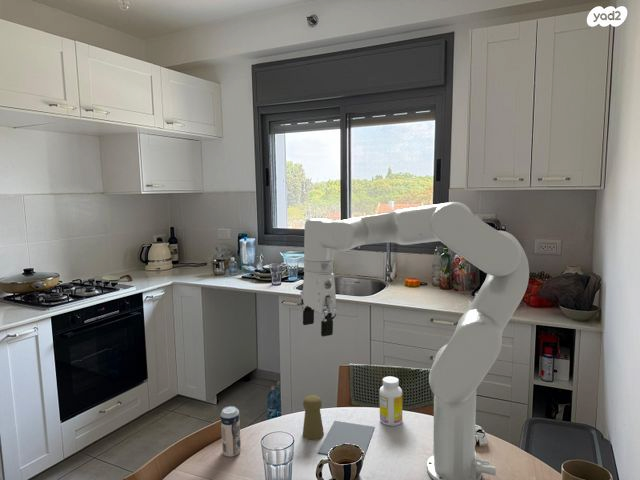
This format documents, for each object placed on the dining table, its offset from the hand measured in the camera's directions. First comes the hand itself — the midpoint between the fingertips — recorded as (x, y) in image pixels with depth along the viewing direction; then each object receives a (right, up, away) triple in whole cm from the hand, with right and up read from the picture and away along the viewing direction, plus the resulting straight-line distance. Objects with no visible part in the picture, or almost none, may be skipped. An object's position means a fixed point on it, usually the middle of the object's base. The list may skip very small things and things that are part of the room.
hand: (317, 329), depth 114 cm
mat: (+8, -31, +5) cm, 33 cm away
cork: (-1, -31, +8) cm, 32 cm away
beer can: (-23, -33, 0) cm, 40 cm away
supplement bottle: (+22, -30, +14) cm, 40 cm away
